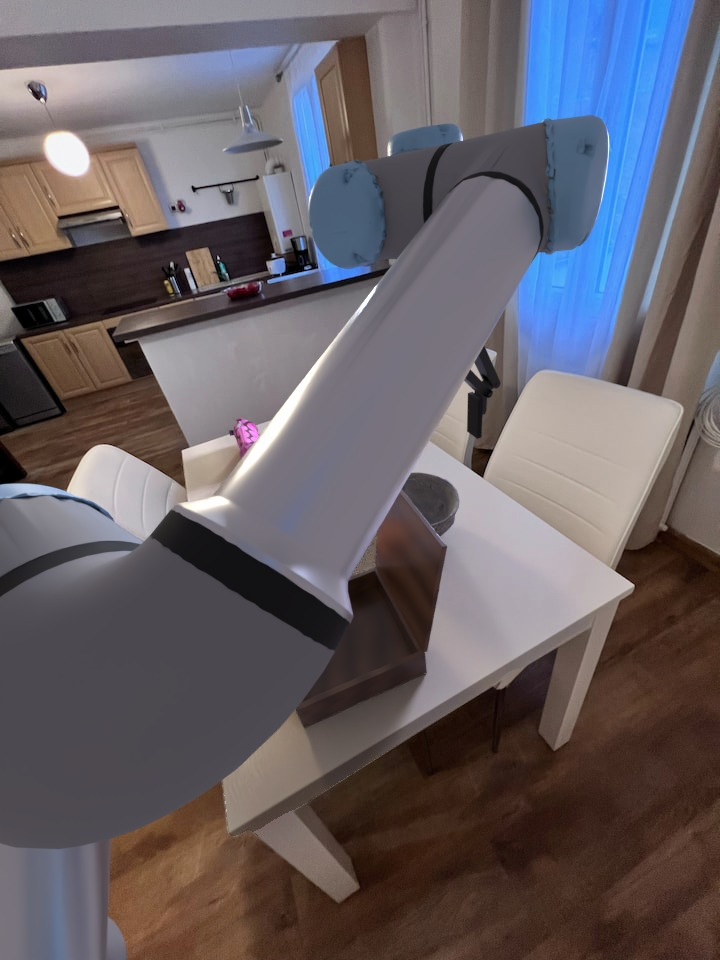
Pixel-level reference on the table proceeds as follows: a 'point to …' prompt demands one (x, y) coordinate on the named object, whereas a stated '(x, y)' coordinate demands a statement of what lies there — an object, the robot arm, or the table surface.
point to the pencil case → (244, 434)
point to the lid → (411, 565)
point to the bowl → (433, 499)
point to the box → (365, 653)
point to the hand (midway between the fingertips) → (435, 447)
